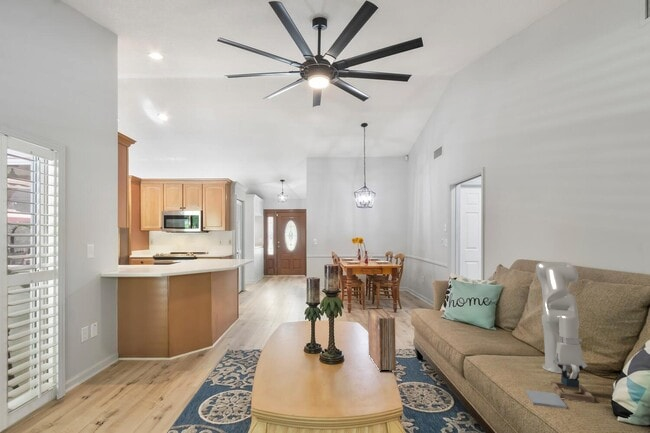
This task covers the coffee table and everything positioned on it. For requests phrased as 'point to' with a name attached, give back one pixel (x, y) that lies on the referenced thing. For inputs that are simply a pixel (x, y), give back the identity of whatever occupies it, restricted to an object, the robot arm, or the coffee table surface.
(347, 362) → the coffee table surface
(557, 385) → the pocket frame
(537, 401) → the pad
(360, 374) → the coffee table surface
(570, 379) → the watch
